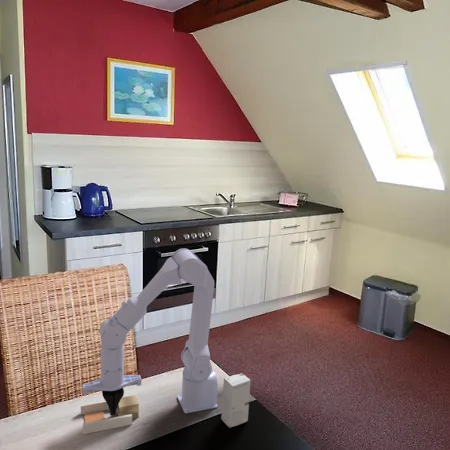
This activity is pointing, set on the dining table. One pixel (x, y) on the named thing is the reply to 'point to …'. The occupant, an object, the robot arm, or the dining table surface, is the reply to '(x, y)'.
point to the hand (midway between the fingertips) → (112, 412)
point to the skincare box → (235, 400)
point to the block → (128, 406)
